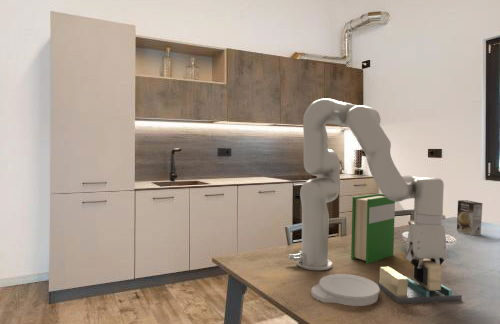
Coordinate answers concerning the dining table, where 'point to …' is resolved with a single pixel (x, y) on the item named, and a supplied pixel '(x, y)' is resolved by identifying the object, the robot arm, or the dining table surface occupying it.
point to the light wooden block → (430, 275)
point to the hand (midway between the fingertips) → (425, 279)
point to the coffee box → (469, 217)
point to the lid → (346, 290)
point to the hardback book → (372, 227)
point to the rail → (412, 289)
